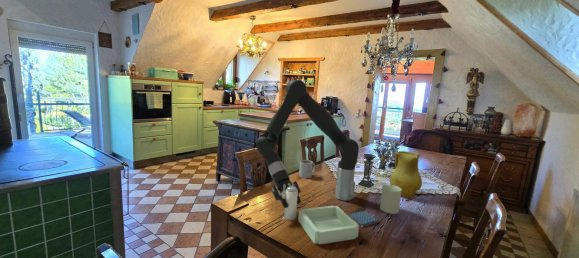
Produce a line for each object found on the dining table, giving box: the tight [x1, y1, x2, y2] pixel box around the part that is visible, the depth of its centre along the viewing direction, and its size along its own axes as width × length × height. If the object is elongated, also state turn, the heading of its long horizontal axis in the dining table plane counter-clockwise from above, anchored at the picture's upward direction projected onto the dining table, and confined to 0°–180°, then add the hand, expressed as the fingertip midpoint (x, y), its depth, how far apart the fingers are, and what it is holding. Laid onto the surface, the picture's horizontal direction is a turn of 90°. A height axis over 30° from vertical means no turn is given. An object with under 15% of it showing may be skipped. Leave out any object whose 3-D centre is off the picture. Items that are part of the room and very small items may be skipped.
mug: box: [298, 159, 316, 179], centre depth 174 cm, size 12×9×10 cm
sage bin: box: [298, 205, 360, 245], centre depth 109 cm, size 19×19×5 cm
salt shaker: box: [283, 186, 299, 221], centre depth 116 cm, size 5×5×14 cm
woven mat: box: [347, 210, 379, 228], centre depth 118 cm, size 10×11×2 cm
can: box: [379, 184, 402, 215], centre depth 129 cm, size 9×9×12 cm
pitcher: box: [389, 150, 423, 199], centre depth 151 cm, size 17×19×25 cm
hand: (293, 205), depth 115 cm, fingers open, 7 cm apart
